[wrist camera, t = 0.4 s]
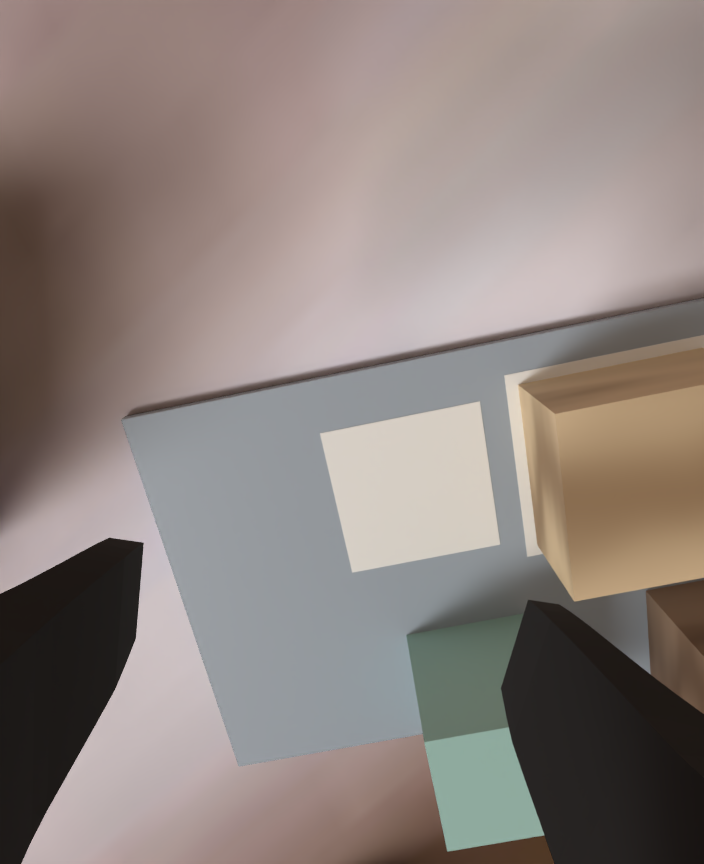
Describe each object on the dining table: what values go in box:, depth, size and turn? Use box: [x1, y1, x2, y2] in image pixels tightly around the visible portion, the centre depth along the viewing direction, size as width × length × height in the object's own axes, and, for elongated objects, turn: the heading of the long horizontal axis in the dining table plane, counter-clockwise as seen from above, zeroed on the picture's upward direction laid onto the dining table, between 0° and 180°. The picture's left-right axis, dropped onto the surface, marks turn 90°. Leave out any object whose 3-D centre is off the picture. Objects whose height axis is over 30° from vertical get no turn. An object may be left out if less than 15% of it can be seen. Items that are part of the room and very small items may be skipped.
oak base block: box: [518, 348, 704, 602], centre depth 18 cm, size 6×6×4 cm
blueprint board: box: [121, 298, 704, 766], centre depth 21 cm, size 15×22×1 cm
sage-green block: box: [406, 613, 544, 852], centre depth 20 cm, size 4×4×5 cm
